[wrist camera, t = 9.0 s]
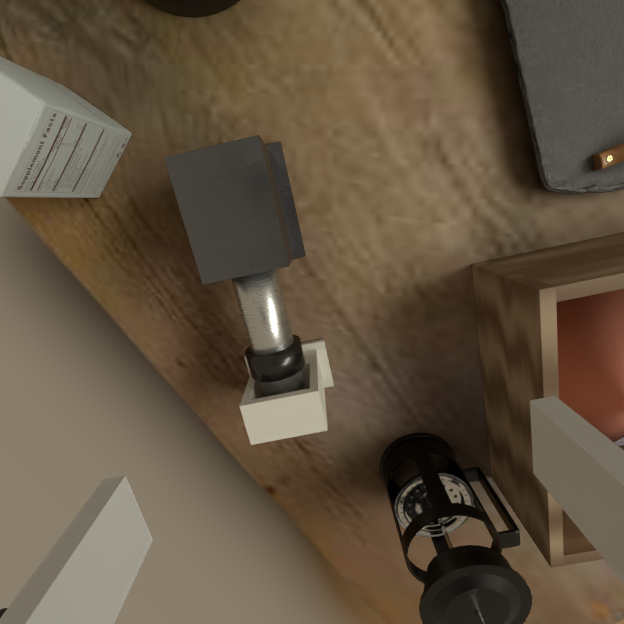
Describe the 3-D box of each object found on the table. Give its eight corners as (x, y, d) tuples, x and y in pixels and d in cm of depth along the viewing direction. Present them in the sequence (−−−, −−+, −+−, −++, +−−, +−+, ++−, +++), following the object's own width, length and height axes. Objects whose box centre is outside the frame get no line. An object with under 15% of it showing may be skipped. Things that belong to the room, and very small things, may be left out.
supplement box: (30, 154, 36) (-112, 130, 24) (63, 83, 34) (-72, 18, 22) (100, 201, 37) (-1, 200, 25) (136, 134, 35) (45, 99, 23)
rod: (222, 243, 34) (207, 250, 29) (277, 231, 34) (271, 236, 29) (264, 395, 39) (258, 423, 34) (313, 385, 39) (314, 413, 34)
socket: (245, 354, 42) (225, 400, 32) (323, 338, 41) (328, 380, 32) (257, 398, 43) (242, 454, 34) (333, 383, 43) (340, 436, 33)
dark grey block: (190, 163, 36) (146, 149, 26) (280, 142, 36) (270, 120, 26) (221, 273, 39) (193, 296, 30) (305, 255, 39) (304, 272, 29)
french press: (381, 503, 48) (443, 763, 26) (367, 442, 45) (423, 672, 23) (473, 486, 47) (618, 737, 25) (464, 422, 44) (618, 640, 22)
